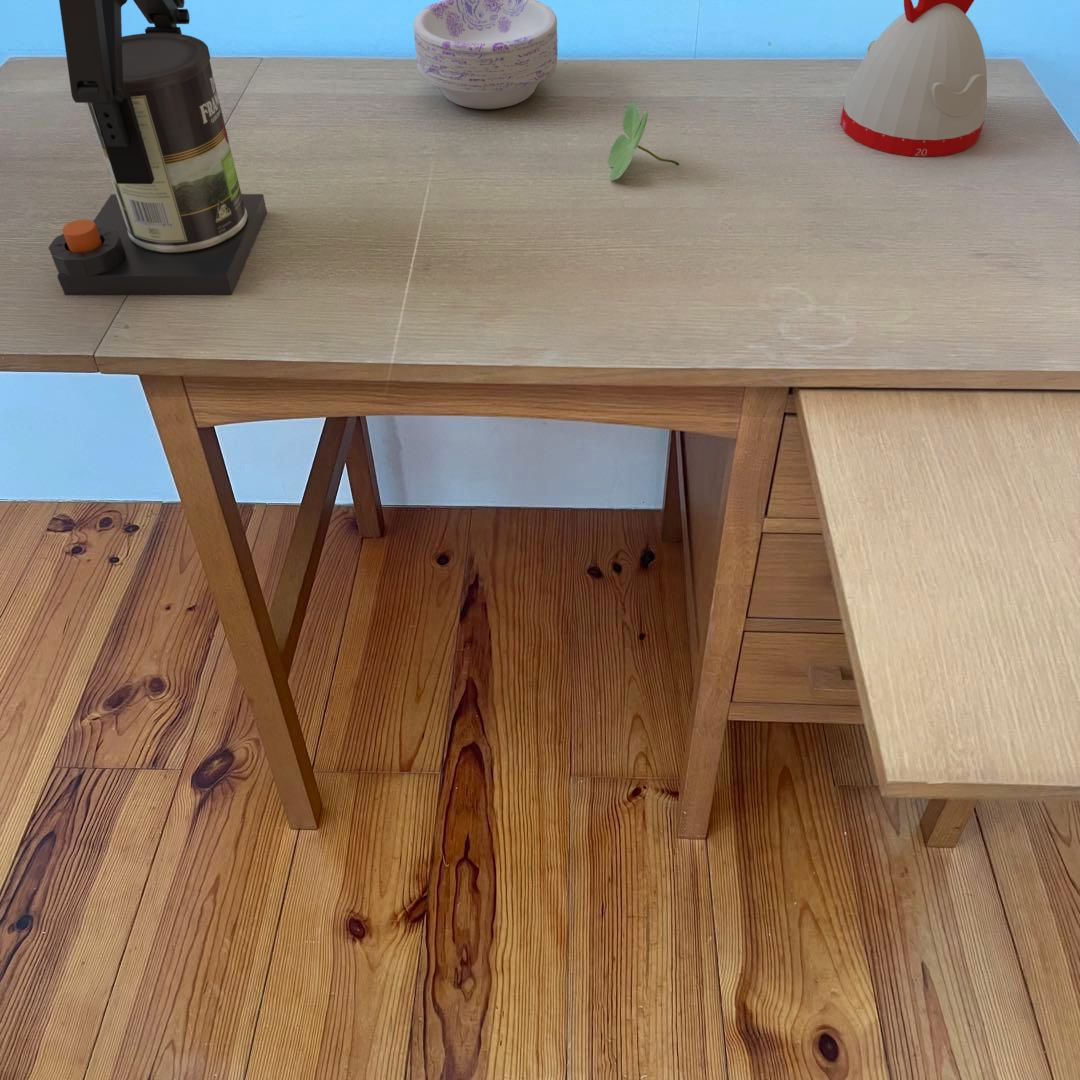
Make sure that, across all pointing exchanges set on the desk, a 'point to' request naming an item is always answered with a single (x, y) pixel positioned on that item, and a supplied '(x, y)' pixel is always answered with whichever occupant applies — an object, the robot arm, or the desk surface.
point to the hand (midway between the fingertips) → (160, 143)
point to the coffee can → (177, 147)
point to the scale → (154, 260)
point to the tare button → (81, 236)
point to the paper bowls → (486, 49)
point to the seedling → (629, 141)
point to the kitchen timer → (920, 84)
